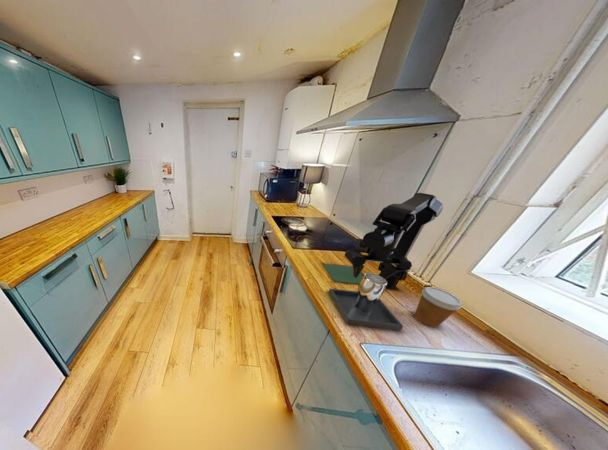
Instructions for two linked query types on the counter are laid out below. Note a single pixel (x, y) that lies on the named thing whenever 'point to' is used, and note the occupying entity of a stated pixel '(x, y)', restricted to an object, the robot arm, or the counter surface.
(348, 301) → the dark grey tray
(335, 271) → the drying mat
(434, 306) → the disposable coffee cup
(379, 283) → the beer glass
